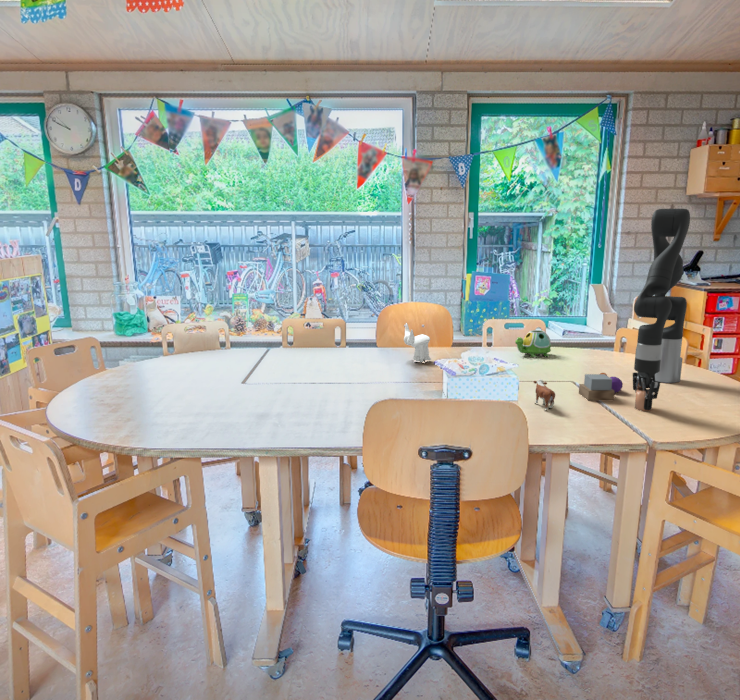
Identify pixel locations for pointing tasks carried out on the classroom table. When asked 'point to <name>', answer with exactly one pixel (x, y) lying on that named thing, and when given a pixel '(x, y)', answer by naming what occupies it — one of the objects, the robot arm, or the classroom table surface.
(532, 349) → the turtle holder
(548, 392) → the bull figurine
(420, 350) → the toy animal
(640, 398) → the terracotta cylinder
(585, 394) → the bottom block
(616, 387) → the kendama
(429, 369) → the classroom table surface
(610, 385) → the top block
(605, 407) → the classroom table surface
